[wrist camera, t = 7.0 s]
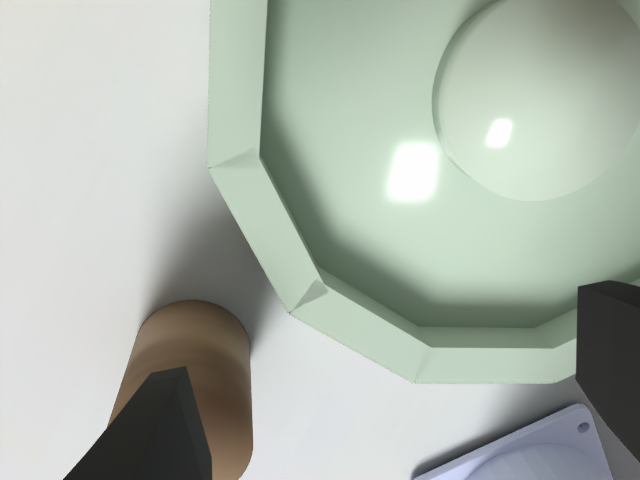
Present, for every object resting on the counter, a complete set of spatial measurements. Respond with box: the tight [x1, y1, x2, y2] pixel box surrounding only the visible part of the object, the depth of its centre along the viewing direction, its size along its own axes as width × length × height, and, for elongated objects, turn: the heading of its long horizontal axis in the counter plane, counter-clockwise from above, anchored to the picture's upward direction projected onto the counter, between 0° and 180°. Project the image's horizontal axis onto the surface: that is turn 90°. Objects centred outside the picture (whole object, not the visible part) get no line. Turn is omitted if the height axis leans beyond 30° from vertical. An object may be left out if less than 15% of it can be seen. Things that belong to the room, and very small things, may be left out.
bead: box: [107, 300, 253, 480], centre depth 18 cm, size 4×4×5 cm
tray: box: [207, 0, 640, 384], centre depth 17 cm, size 19×19×2 cm
